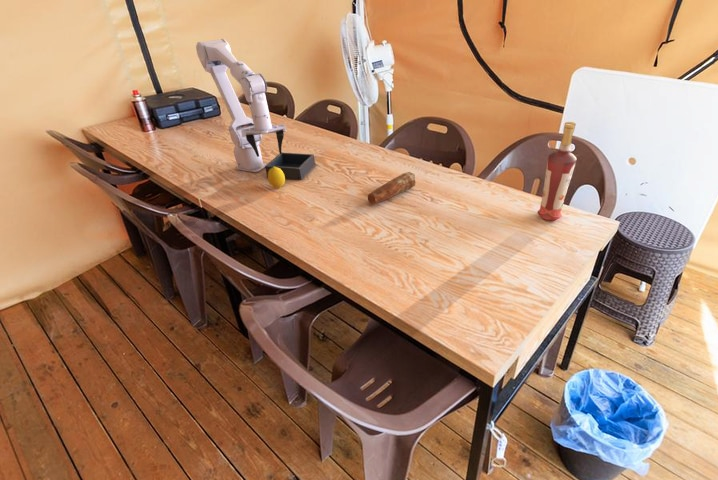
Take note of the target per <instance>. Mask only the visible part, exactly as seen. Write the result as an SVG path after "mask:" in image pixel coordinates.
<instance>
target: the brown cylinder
mask: <svg viewBox="0 0 718 480" xmlns="http://www.w3.org/2000/svg"><path fill="white" fill-rule="evenodd" d="M415 179H416V175H415V173H413V172H411V171H406V172H404V173H401V174H400V175H398V176H396V177H394V178H392V179H391V180H389V181H387V182H385V183H384V184H382V185H381V186H379V187H377V188H376V189H374V190H372V191H371V192H369V193H368V194H367V201H368V203H369V204H370V205H377V204H378V203H381V202H383V201H386V200H388V199H390V198H392V197H395V196H397V195H399V194H401V193H403V192H406V191H408V190H411V189H412V188H414V187H415V186H416V180H415Z"/></svg>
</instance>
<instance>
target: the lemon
mask: <svg viewBox="0 0 718 480" xmlns="http://www.w3.org/2000/svg"><path fill="white" fill-rule="evenodd" d="M267 179H268V182H269V184H270V185H271V187H274V188H277V189H280V188H281V187H283V186H284V185H285V182H286V179H285V176H284V173H283V171H282V170H281V169H280V168H277V167H273V168H271V169H270V170H269V172H268V177H267Z"/></svg>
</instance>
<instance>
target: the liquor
mask: <svg viewBox="0 0 718 480" xmlns="http://www.w3.org/2000/svg"><path fill="white" fill-rule="evenodd" d="M576 125H577V124H576V122H574V121H566V122H564V125H563V134H562V137H561V141H560V144H559V147H558V150H557V151H553V152H551V153H549V155H548V157H547V164H546V169H545V175H544V183H543V189H542V196H541V201H540V206H539V210H538V211H537V215H538V216H539V217H540V218H541V219H542V220H544V221H546V222H555V221H557V220H559V219H561V218H562V215H563V214H562V210H563V207H564V202H565V198H566V195H567V192H568V188H569V186H570V183H571V179H572V178H573V173H574V170H575V167H576V164H577V157H576V156H575V154H574V153H572V152H571V146H572V140H573V135H574V132H575V130H576Z"/></svg>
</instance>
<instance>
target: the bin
mask: <svg viewBox="0 0 718 480" xmlns="http://www.w3.org/2000/svg"><path fill="white" fill-rule="evenodd" d="M315 166H316V160H315V155H314V153H313V154H311V153H310V154H309V153H299V152H298V153H297V152H296V153H295V152H282V154H280V153H278V154H277V155H276V156H275V157H273V159H272V160H271V161H269V162H268V164H267V165H266V166H265V167H264V169H265V173H266V178H268V172H269V170H270V169H271V168H273V167H277V168H280V169H281V170H282V171H283V173H284V176H285V180H295V181H296V180H297V181H302V180H303V179H304V178H305V177H306V176H307V175H308V174H310V172H311V171H312V170H313V169H314V167H315Z"/></svg>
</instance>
